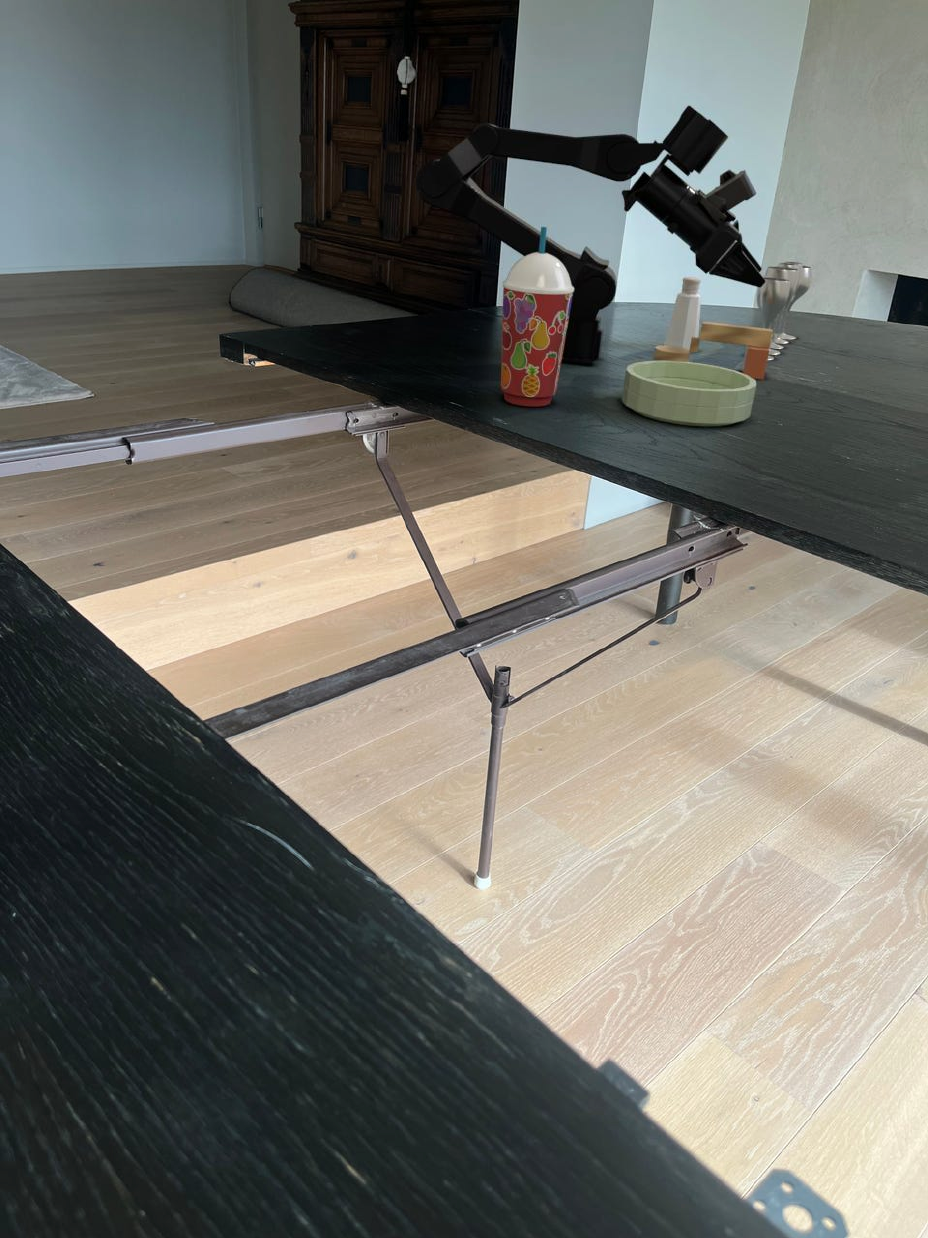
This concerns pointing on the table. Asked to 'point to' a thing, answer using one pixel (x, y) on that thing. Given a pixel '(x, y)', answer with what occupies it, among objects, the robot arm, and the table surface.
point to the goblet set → (781, 297)
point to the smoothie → (534, 327)
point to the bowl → (688, 393)
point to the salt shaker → (685, 315)
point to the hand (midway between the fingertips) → (761, 277)
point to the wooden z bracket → (716, 340)
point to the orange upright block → (755, 362)
